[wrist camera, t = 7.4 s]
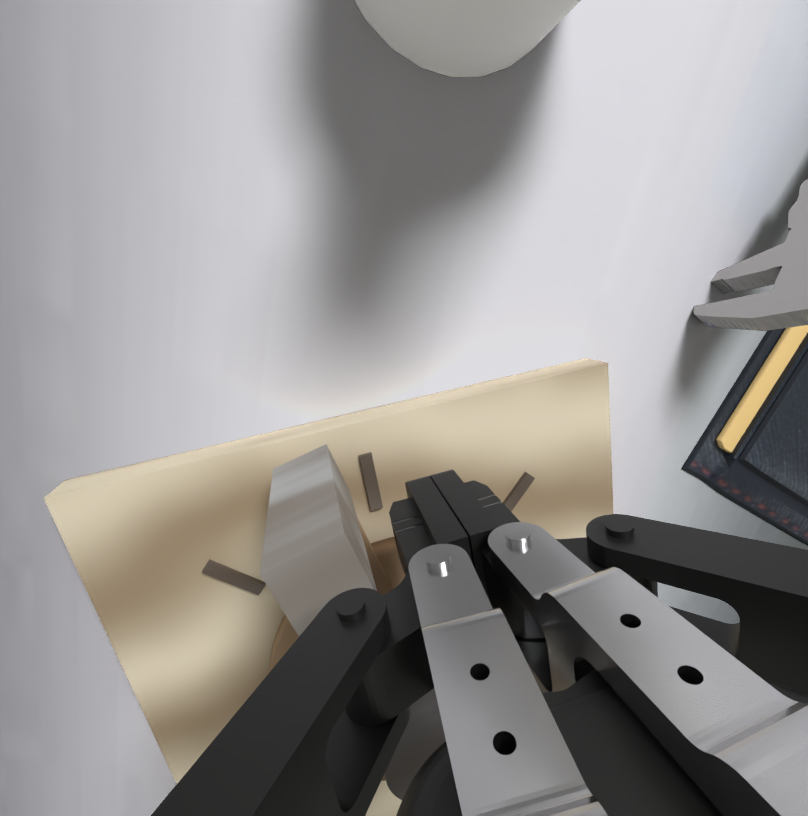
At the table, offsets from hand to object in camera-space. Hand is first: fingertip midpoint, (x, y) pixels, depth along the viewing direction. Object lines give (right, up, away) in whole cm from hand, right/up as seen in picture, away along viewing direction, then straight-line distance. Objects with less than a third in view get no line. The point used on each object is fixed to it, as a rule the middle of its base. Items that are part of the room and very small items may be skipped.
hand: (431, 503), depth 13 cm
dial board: (-1, -8, +8) cm, 11 cm away
